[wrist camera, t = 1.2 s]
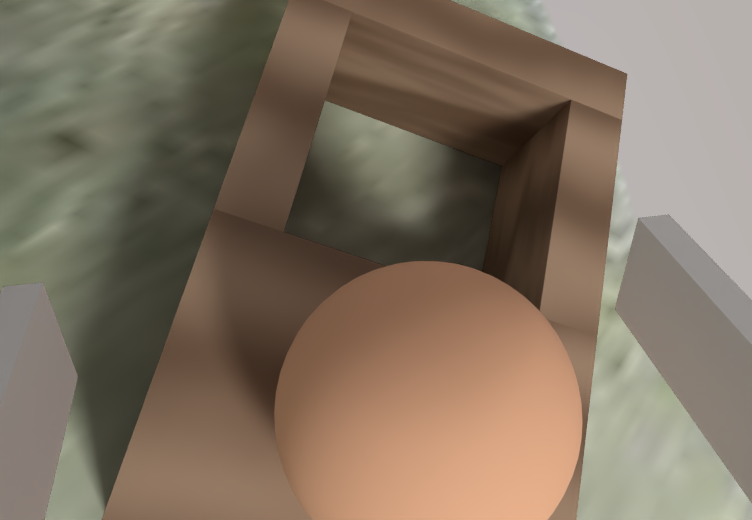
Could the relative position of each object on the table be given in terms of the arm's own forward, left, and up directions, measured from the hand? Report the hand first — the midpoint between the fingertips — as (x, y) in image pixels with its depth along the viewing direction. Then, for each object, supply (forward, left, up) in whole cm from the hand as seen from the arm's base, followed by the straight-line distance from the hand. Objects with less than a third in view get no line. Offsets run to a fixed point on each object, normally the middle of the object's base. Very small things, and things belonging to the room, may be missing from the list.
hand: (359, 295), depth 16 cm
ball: (+4, +2, -7) cm, 9 cm away
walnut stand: (+1, +7, -20) cm, 22 cm away
